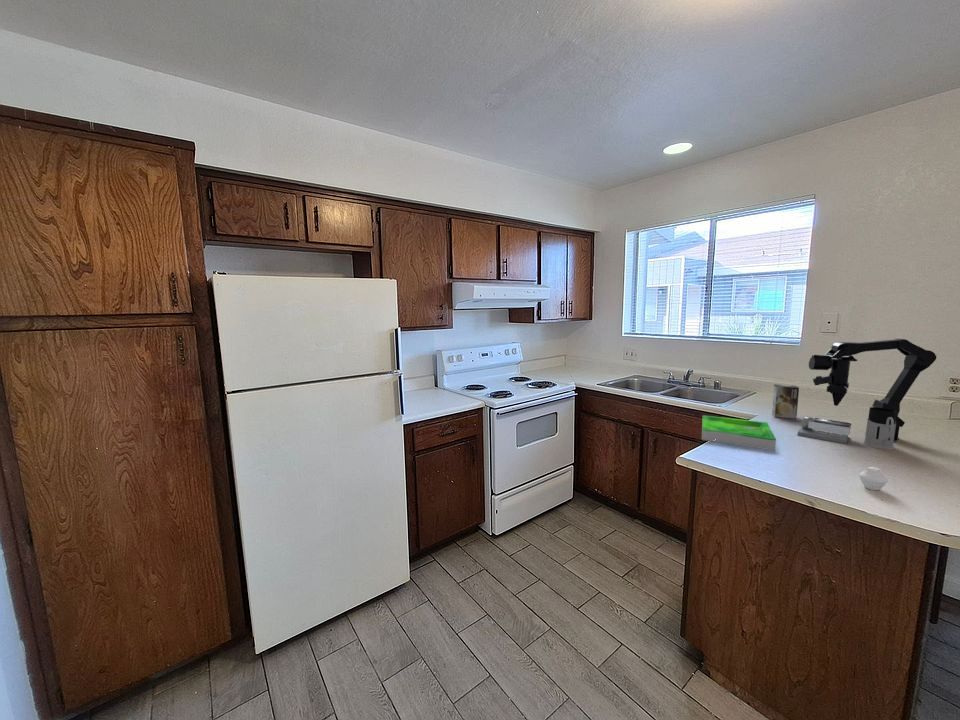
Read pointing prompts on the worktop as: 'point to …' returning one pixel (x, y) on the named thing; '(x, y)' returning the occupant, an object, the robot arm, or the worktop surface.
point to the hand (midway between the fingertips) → (835, 405)
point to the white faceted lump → (873, 478)
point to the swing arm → (826, 425)
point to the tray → (738, 432)
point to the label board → (824, 435)
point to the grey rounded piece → (880, 428)
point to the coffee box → (785, 401)
